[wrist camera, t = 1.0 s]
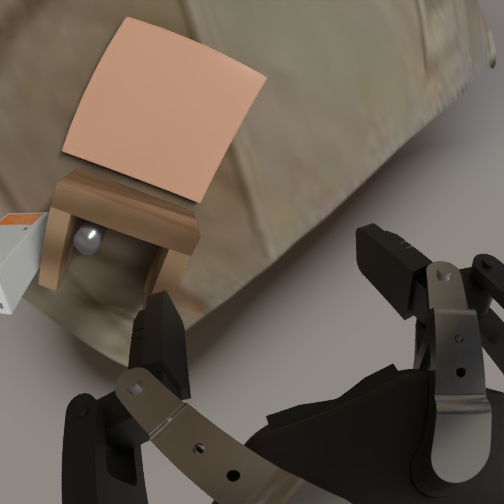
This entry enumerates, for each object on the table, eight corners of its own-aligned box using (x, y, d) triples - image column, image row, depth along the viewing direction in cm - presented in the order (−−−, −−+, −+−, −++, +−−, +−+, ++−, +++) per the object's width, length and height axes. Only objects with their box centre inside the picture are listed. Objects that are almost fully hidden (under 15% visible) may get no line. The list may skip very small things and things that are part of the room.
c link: (77, 168, 23) (55, 183, 18) (193, 212, 28) (200, 236, 23) (56, 254, 26) (38, 284, 21) (160, 289, 31) (161, 323, 26)
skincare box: (50, 209, 23) (-3, 269, 13) (54, 247, 25) (13, 317, 15) (7, 211, 22) (-51, 266, 11) (12, 246, 23) (-35, 311, 13)
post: (87, 223, 25) (71, 249, 20) (93, 202, 25) (77, 225, 20) (107, 230, 26) (95, 258, 21) (114, 209, 26) (102, 234, 21)
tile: (64, 150, 21) (61, 151, 21) (127, 19, 17) (126, 16, 16) (199, 200, 28) (200, 203, 27) (264, 78, 24) (267, 77, 23)
